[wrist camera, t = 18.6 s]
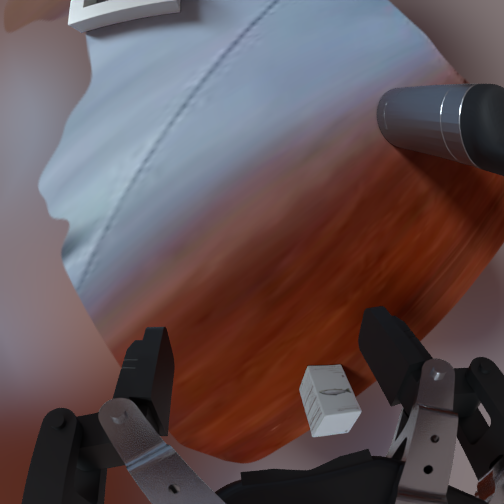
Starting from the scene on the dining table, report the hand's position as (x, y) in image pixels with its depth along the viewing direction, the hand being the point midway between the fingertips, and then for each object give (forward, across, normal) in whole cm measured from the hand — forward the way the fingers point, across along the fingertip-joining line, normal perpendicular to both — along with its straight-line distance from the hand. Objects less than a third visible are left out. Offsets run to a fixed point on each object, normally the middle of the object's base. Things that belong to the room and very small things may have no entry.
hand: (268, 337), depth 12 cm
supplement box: (+30, -15, +38) cm, 51 cm away
